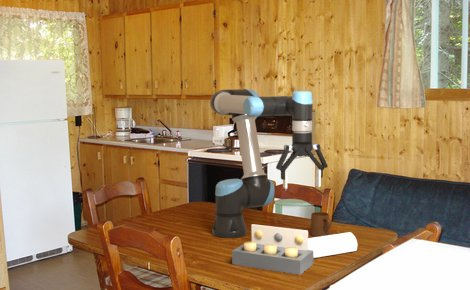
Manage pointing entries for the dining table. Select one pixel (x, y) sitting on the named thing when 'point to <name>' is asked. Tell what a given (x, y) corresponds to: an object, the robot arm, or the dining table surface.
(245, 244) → the button left
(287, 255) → the button right
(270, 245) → the button middle
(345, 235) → the crystal
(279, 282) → the dining table surface
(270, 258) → the console
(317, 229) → the mug
